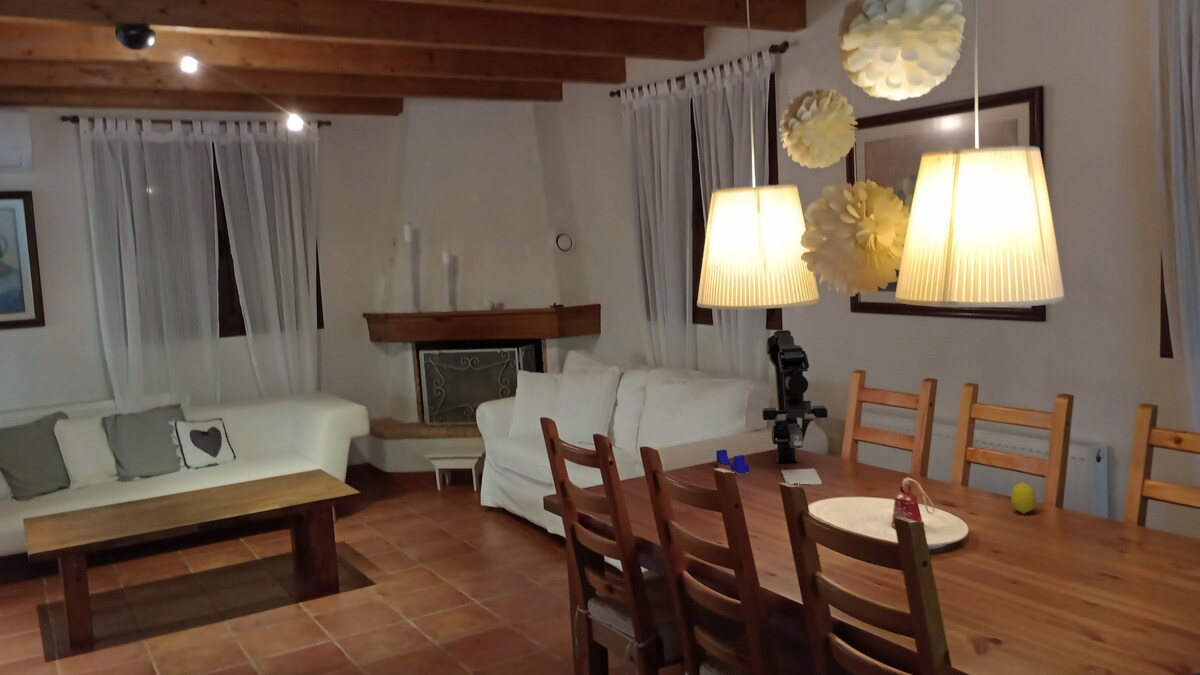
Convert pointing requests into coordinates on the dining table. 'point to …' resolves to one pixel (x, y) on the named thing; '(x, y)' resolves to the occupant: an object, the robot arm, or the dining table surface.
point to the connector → (795, 438)
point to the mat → (801, 476)
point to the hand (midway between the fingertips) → (795, 441)
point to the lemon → (1023, 497)
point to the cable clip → (738, 461)
